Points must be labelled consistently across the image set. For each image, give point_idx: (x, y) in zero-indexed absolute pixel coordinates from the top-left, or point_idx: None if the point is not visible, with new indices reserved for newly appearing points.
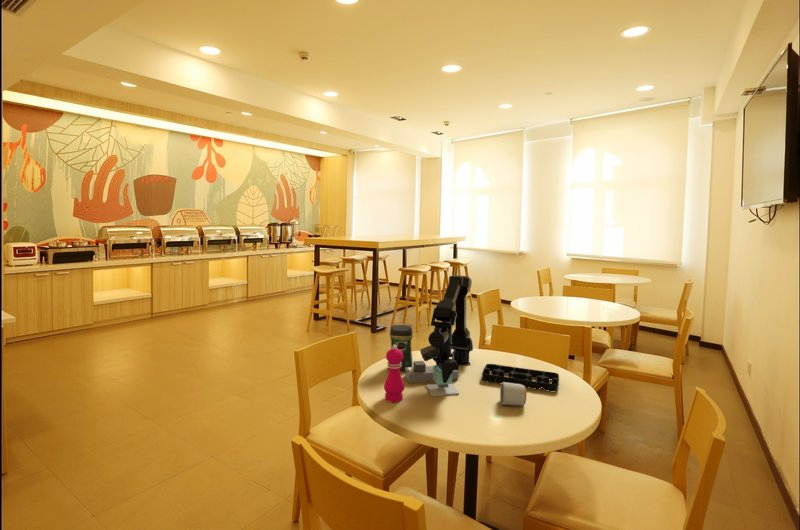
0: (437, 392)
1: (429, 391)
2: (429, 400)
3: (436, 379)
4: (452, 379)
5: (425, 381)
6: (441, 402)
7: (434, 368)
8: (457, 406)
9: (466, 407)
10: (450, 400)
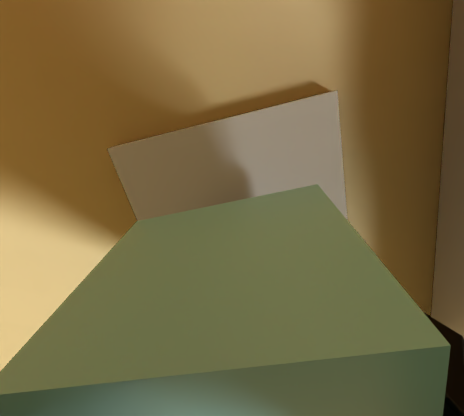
0: (166, 194)
1: (205, 123)
2: (33, 118)
3: (151, 240)
4: (435, 314)
5: (450, 83)
6: (35, 210)
7: (292, 315)
8: (19, 296)
9: (27, 335)
10: (87, 268)
